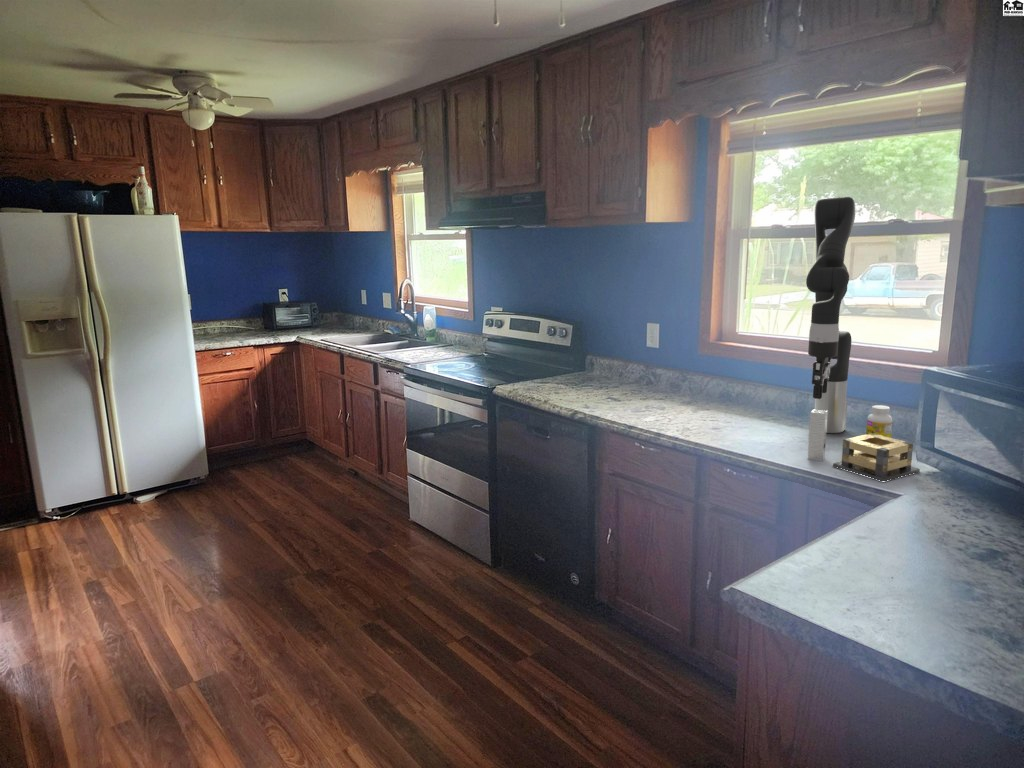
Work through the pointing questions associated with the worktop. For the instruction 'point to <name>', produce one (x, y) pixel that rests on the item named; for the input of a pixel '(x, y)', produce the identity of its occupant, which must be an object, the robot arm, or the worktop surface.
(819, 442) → the tall white block
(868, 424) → the supplement bottle
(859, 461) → the collar stand
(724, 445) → the worktop surface
